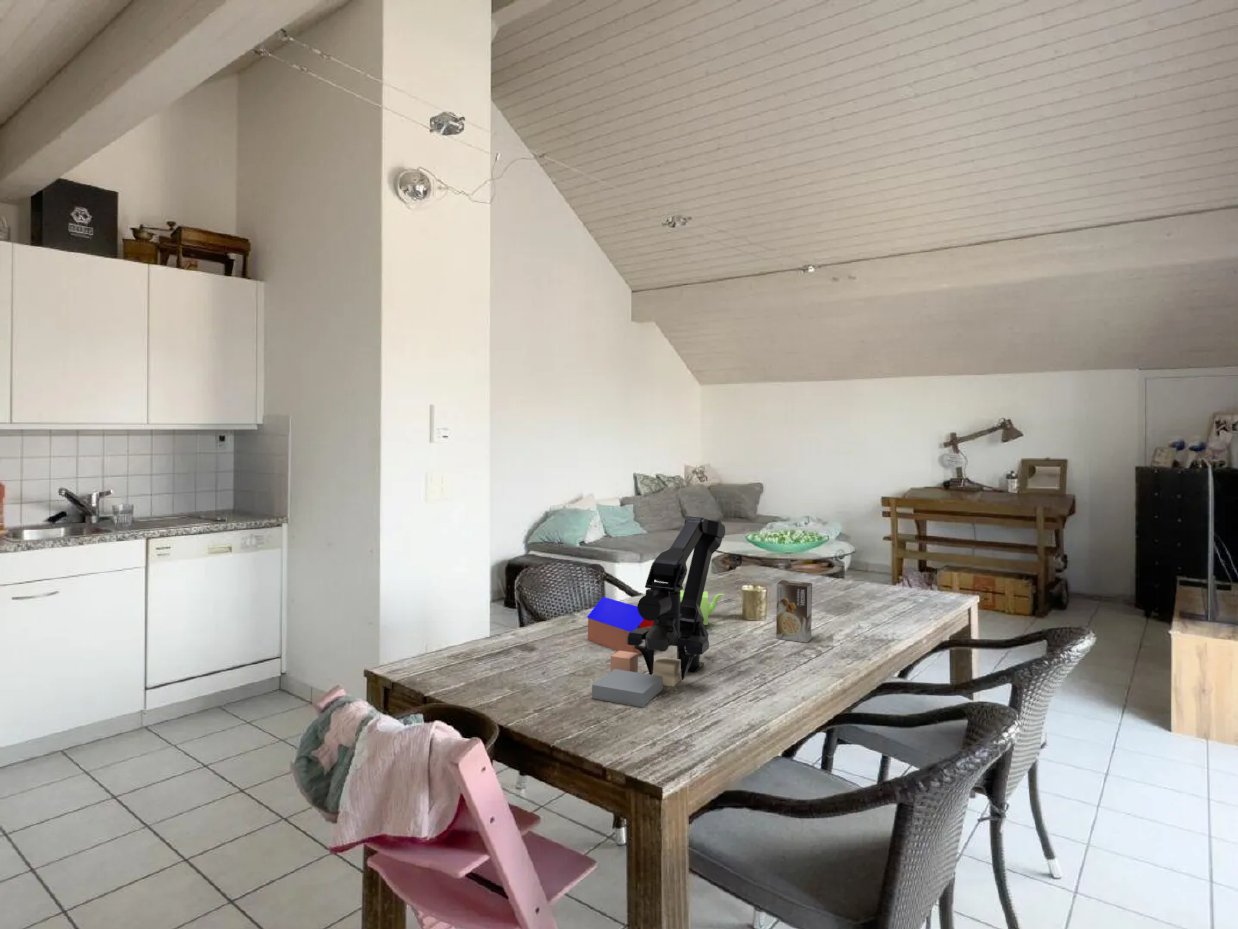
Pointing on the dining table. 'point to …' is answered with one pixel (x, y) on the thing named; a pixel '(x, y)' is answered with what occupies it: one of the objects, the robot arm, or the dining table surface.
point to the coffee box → (794, 611)
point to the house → (615, 624)
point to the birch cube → (668, 670)
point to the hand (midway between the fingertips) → (666, 677)
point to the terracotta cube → (624, 661)
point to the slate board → (627, 687)
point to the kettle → (706, 604)
